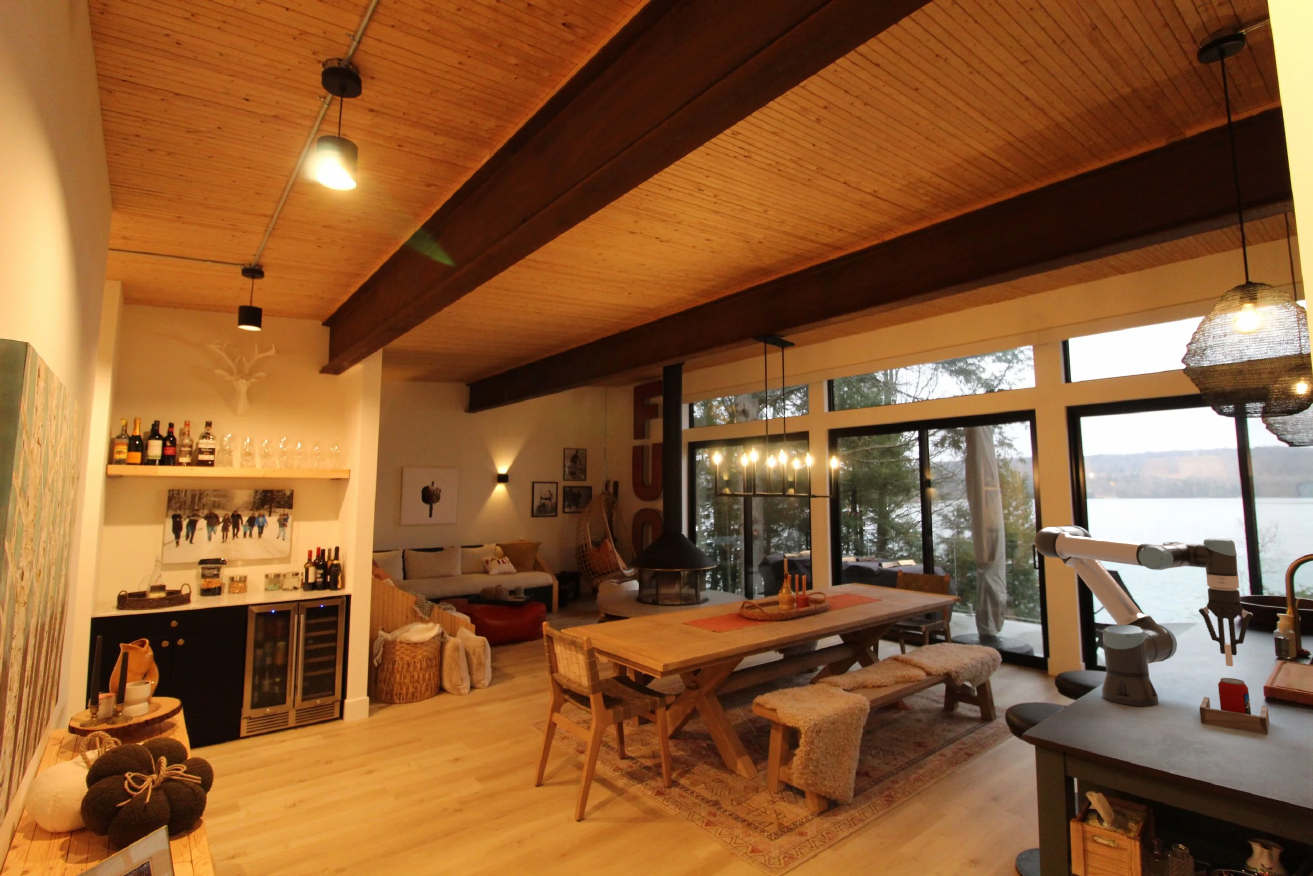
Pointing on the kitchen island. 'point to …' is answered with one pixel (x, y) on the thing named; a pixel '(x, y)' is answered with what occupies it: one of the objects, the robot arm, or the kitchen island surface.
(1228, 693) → the beverage can
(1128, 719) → the kitchen island surface
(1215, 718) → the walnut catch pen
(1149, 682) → the robot arm
